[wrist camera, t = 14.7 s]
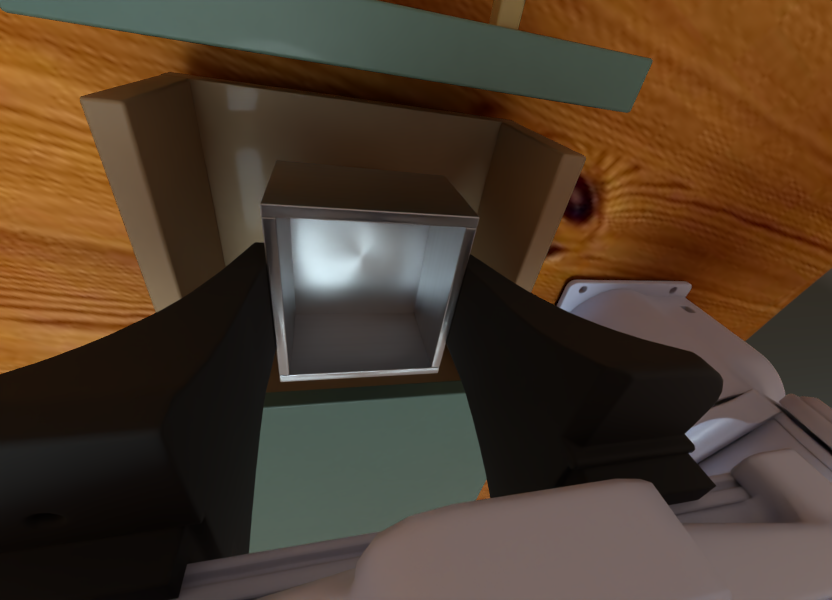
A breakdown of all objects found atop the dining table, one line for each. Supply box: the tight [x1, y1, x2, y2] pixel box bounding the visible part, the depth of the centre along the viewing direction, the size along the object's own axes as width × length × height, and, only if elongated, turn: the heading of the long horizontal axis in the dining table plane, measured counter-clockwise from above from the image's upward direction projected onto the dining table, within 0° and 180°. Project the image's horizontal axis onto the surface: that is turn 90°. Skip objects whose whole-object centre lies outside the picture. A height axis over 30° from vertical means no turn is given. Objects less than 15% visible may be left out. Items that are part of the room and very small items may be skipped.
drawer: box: [0, 0, 653, 392], centre depth 11 cm, size 19×13×6 cm
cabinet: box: [249, 380, 487, 554], centre depth 20 cm, size 14×14×7 cm
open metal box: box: [260, 160, 479, 382], centre depth 11 cm, size 5×6×3 cm
